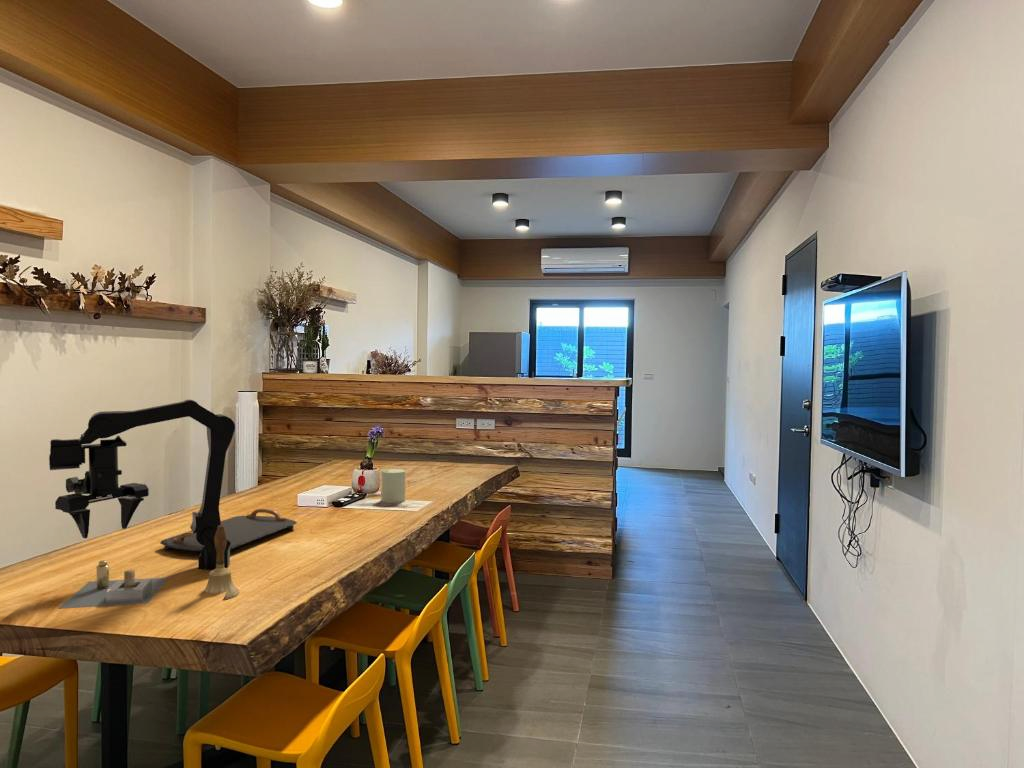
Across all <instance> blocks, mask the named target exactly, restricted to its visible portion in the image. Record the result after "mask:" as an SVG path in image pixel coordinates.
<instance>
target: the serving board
mask: <svg viewBox="0 0 1024 768" xmlns="http://www.w3.org/2000/svg"><path fill="white" fill-rule="evenodd" d="M259 513H263V514H264V513H265V514H270V515H272V516H267V515H263V516H262V515H257V514H259ZM296 524H298V522H297V521H296V520H293V519H290V518H286V517H284V516H282V515H281V514H280V513H279V512H278V511H277V510H274V509H272V508H257V509H255V510H253V511H252V512H251V513H250V514H249V513H248V514H246V515H238V516H233V517H230V518H227V519H224V520H221V525H224V529H225V532H226V535H227V538H228V539H229V541H230V542H231V544H230V551H231V550H233V549H235V548H237V547H241V546H242V545H243V546H244V545H245V544H249V543H251V542H253V541H257V540H258V539H261V538H264V537H266V536H270V535H271V534H273V533H277V532H279V531H281V530H284V529H286V530H289V531H291V530H294V528H295V527H294V526H295V525H296ZM160 545H162V546H163V551H166V552H167V551H172V550H173V549H176V550H183V551H191V552H193V551H195V552H201V549H202V548H203V547H204V545H201V544H200V543H199V542H198V541H197V540H196V538H195V536H194V534H193V532H192V530H190V531H186V532H183V533H181V534H177V535H175V536H171V537H167V538H166V539H163V540H161V541H160Z"/></svg>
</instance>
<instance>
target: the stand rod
mask: <svg viewBox="0 0 1024 768" xmlns="http://www.w3.org/2000/svg"><path fill="white" fill-rule="evenodd" d="M123 573H124V574H123V577H124V578H123V580H124V588H132V587H135V579H136V571H135V570H134V569H128V570H125V571H123Z"/></svg>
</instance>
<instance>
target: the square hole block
mask: <svg viewBox="0 0 1024 768" xmlns="http://www.w3.org/2000/svg"><path fill="white" fill-rule="evenodd" d="M140 579H141V580H135V587H132V588H124V579H121V580H122V581H116V582H115V583H114V584H113V585H112V586H111V587H110V588H109V589H108V590H107V591H106V603H117V602H133V601H143V600H144V598H145V597H146V596H147V595H148V594H149V593H150V591H151V590H152V579H148V578H140Z"/></svg>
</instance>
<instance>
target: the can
mask: <svg viewBox="0 0 1024 768" xmlns="http://www.w3.org/2000/svg"><path fill="white" fill-rule="evenodd" d="M406 471H407V470H405V469H401V468H388V469H387V468H386V469H381V497H380V498H381V499H380V501H381V503H385V504H399V503H404V502H406Z"/></svg>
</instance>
